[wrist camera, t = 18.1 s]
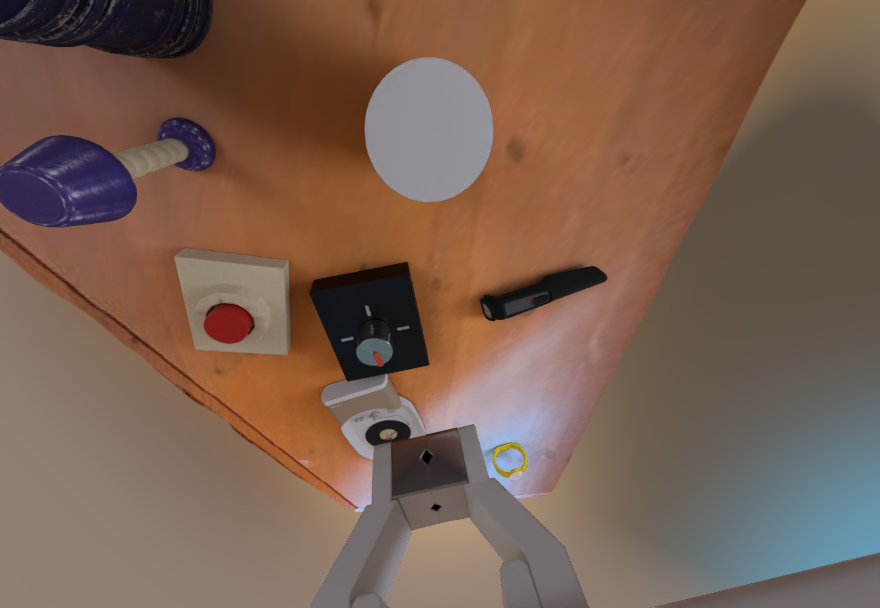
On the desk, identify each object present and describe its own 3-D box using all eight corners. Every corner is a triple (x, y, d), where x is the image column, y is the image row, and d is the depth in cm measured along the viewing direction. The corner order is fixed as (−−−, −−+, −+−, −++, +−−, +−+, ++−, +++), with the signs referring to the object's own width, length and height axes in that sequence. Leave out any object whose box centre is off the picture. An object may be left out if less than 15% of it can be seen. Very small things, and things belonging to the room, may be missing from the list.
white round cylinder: (359, 80, 28) (345, 75, 19) (450, 58, 29) (485, 41, 19) (385, 176, 33) (386, 214, 23) (464, 157, 33) (498, 186, 23)
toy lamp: (206, 112, 28) (35, 135, 14) (233, 169, 31) (111, 235, 17) (149, 122, 28) (-78, 156, 14) (181, 179, 31) (16, 253, 17)
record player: (393, 381, 44) (435, 457, 56) (392, 364, 47) (433, 440, 58) (311, 406, 45) (369, 476, 56) (315, 388, 47) (370, 459, 59)
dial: (352, 326, 39) (349, 347, 35) (384, 315, 38) (384, 335, 35) (366, 350, 41) (364, 371, 38) (396, 340, 41) (398, 361, 38)
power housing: (184, 247, 34) (163, 264, 31) (288, 259, 36) (279, 277, 33) (203, 338, 40) (187, 360, 37) (291, 344, 42) (283, 365, 39)
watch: (490, 454, 63) (499, 485, 58) (488, 446, 61) (497, 477, 56) (521, 445, 62) (532, 476, 58) (519, 437, 61) (531, 468, 56)
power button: (208, 301, 34) (200, 311, 32) (251, 305, 35) (245, 314, 33) (213, 332, 36) (206, 342, 34) (254, 335, 37) (248, 345, 35)
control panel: (313, 279, 38) (308, 293, 35) (407, 261, 38) (409, 274, 36) (349, 366, 46) (347, 382, 43) (426, 350, 46) (429, 366, 44)
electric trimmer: (594, 280, 44) (608, 292, 41) (484, 317, 44) (490, 331, 42) (593, 255, 42) (608, 266, 39) (477, 294, 42) (484, 308, 40)
